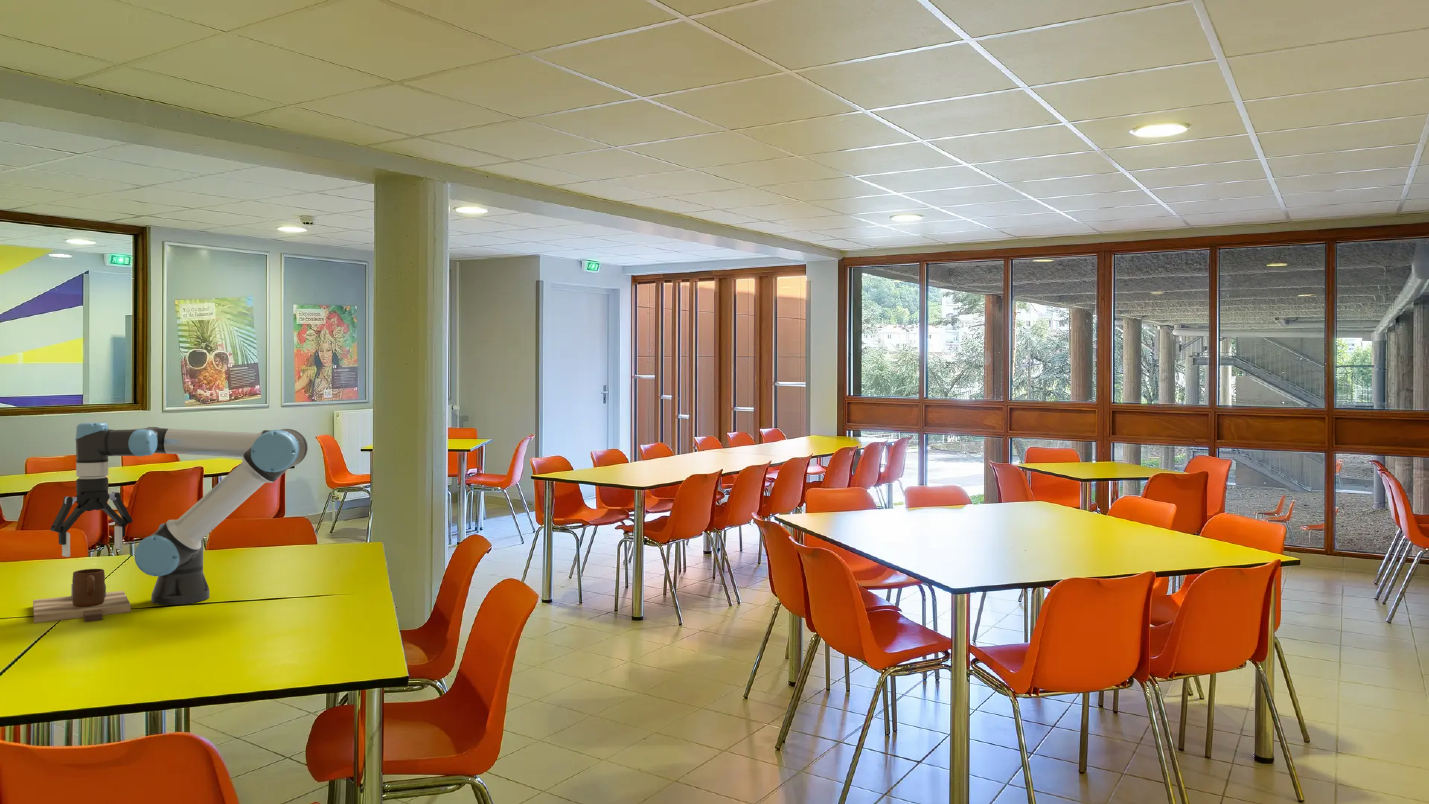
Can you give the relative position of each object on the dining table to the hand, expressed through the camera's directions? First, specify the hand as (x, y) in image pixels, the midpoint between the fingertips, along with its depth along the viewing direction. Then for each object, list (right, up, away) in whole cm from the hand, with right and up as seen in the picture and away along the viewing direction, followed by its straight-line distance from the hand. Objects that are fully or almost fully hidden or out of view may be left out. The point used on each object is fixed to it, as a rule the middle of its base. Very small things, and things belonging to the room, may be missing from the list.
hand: (92, 552), depth 259 cm
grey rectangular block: (-8, -15, +10) cm, 20 cm away
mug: (-1, -15, 0) cm, 15 cm away
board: (-4, -17, +1) cm, 17 cm away
